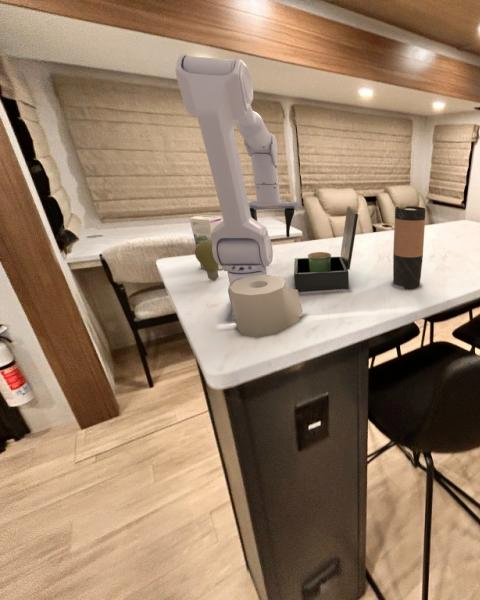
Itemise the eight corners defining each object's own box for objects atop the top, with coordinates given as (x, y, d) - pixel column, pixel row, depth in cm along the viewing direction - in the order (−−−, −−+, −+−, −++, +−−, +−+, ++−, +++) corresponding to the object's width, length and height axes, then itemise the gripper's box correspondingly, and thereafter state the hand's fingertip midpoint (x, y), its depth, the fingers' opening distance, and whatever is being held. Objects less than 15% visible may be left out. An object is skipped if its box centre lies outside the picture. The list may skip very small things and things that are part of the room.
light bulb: (196, 280, 80) (187, 242, 76) (217, 275, 84) (209, 238, 80) (210, 285, 77) (201, 245, 73) (230, 278, 82) (223, 241, 78)
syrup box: (231, 264, 93) (222, 215, 87) (219, 270, 88) (208, 218, 82) (213, 263, 94) (203, 214, 88) (200, 269, 88) (188, 217, 82)
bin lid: (355, 213, 70) (358, 214, 70) (347, 206, 82) (349, 206, 82) (346, 269, 75) (349, 269, 75) (340, 254, 87) (342, 255, 87)
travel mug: (418, 291, 79) (423, 210, 71) (389, 288, 80) (391, 208, 72) (422, 281, 86) (427, 207, 78) (395, 278, 87) (398, 205, 79)
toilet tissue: (313, 314, 65) (310, 276, 61) (259, 343, 54) (252, 299, 51) (282, 302, 69) (278, 266, 65) (227, 328, 58) (218, 286, 54)
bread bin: (296, 295, 74) (293, 274, 71) (296, 276, 85) (294, 258, 83) (348, 291, 77) (348, 271, 75) (342, 274, 89) (341, 256, 87)
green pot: (333, 283, 79) (331, 257, 76) (310, 285, 78) (308, 258, 75) (331, 276, 84) (329, 251, 81) (309, 278, 83) (307, 252, 80)
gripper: (296, 183, 85) (300, 233, 90) (238, 182, 81) (246, 234, 86) (296, 185, 79) (301, 238, 84) (233, 184, 75) (242, 239, 80)
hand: (273, 236), depth 85 cm, fingers open, 7 cm apart
